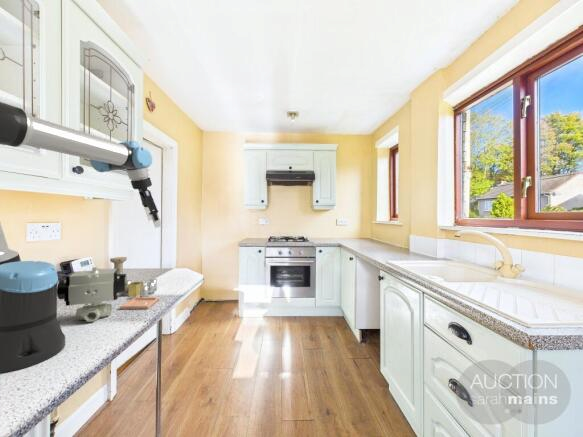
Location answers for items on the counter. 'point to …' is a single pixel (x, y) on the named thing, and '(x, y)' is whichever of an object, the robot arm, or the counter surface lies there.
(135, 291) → the nut
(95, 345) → the counter surface
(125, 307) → the dish
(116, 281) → the ball valve
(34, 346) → the robot arm
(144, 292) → the spacers
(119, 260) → the handle
